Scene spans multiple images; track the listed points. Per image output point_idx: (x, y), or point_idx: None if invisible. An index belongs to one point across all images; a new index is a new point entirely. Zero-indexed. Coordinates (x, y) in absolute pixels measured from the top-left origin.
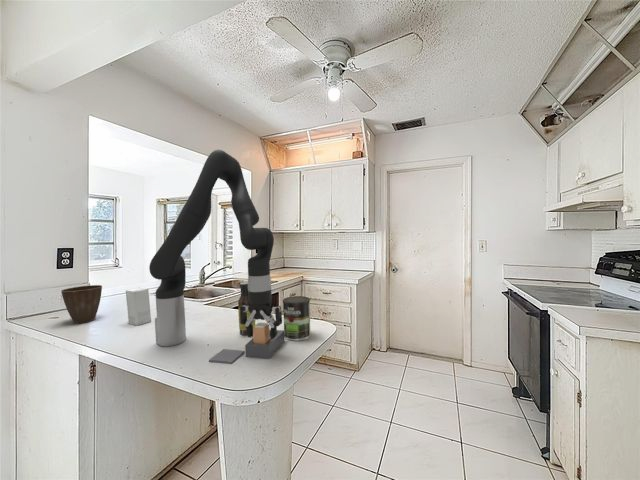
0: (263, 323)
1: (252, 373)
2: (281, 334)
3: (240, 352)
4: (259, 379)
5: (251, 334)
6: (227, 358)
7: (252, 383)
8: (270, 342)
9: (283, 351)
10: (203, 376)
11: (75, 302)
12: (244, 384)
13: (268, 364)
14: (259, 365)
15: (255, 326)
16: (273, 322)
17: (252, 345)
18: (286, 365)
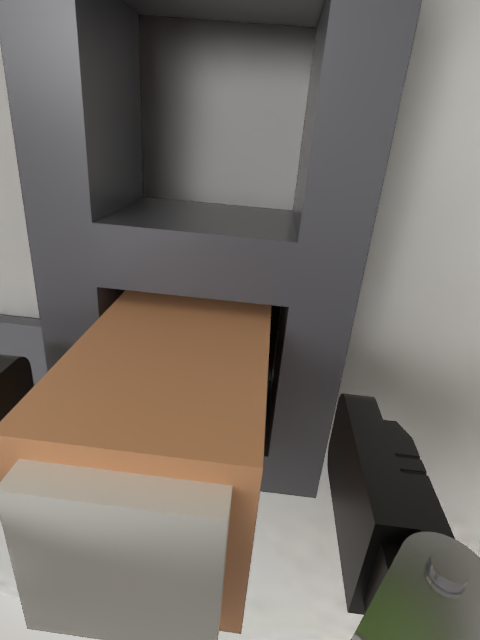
0: (142, 547)
1: (260, 563)
2: (399, 75)
3: (29, 359)
4: (322, 605)
5: (16, 404)
6: None
7: (297, 627)
8: (311, 416)
9: (413, 278)
10: (14, 578)
11: None
12: (261, 631)
13: (328, 482)
14: (268, 492)
15: (54, 617)
16: (414, 631)
17: None
18: (465, 492)
